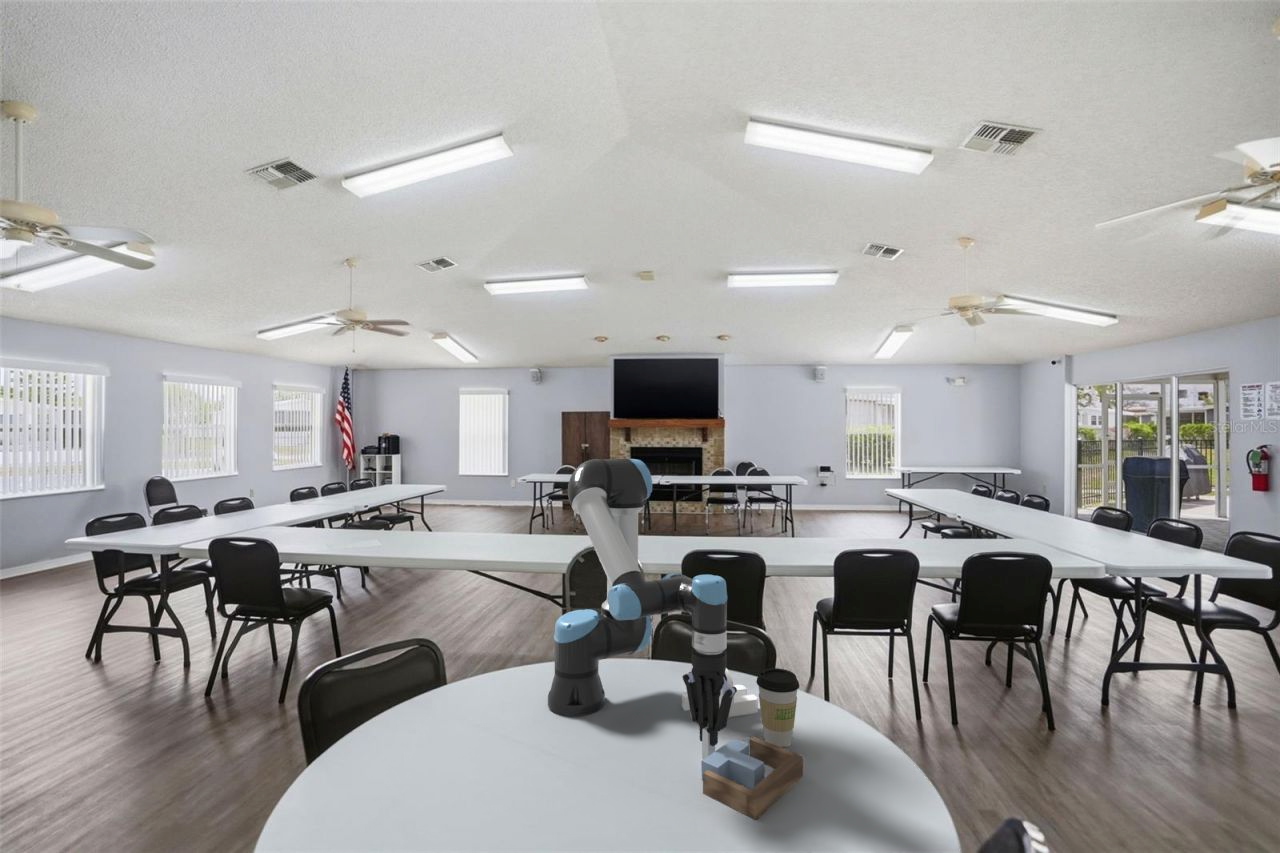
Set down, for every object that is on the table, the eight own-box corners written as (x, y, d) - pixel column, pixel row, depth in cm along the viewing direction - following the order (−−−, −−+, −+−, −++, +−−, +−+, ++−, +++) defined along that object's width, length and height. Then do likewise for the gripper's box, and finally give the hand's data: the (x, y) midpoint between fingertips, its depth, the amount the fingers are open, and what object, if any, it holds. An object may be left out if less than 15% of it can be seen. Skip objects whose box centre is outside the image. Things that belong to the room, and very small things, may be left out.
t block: (701, 780, 119) (701, 760, 119) (733, 757, 128) (733, 738, 128) (743, 800, 113) (743, 779, 113) (774, 773, 121) (773, 754, 122)
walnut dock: (702, 793, 115) (702, 772, 115) (752, 754, 129) (752, 736, 129) (755, 820, 107) (755, 797, 107) (803, 775, 121) (803, 756, 121)
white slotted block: (680, 706, 153) (680, 665, 153) (741, 697, 158) (741, 657, 158) (695, 723, 144) (695, 679, 144) (759, 713, 149) (759, 670, 149)
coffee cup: (801, 753, 129) (800, 685, 130) (756, 748, 131) (756, 682, 132) (798, 731, 139) (798, 668, 139) (756, 727, 141) (756, 665, 141)
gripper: (674, 645, 127) (674, 754, 127) (724, 661, 119) (724, 777, 118) (695, 637, 133) (694, 740, 133) (744, 651, 124) (743, 762, 124)
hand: (708, 758), depth 126 cm, fingers closed
